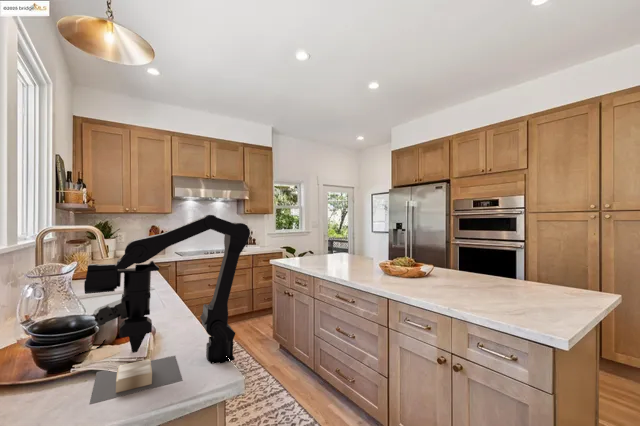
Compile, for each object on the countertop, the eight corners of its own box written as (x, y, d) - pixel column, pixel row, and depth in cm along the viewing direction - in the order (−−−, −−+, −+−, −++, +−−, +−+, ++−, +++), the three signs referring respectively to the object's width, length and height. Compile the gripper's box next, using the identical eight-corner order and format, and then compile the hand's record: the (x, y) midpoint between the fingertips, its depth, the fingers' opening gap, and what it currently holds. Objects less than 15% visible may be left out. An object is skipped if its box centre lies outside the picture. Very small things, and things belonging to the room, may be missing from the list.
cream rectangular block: (150, 358, 76) (152, 372, 69) (150, 369, 76) (151, 384, 69) (117, 365, 72) (116, 380, 65) (117, 377, 72) (115, 393, 65)
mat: (175, 357, 84) (175, 355, 84) (182, 382, 71) (182, 380, 71) (96, 374, 74) (96, 371, 74) (89, 407, 61) (89, 404, 61)
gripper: (101, 284, 77) (98, 344, 76) (91, 303, 61) (88, 378, 61) (149, 281, 83) (147, 336, 82) (153, 296, 67) (150, 365, 67)
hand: (134, 351), depth 73 cm, fingers closed
